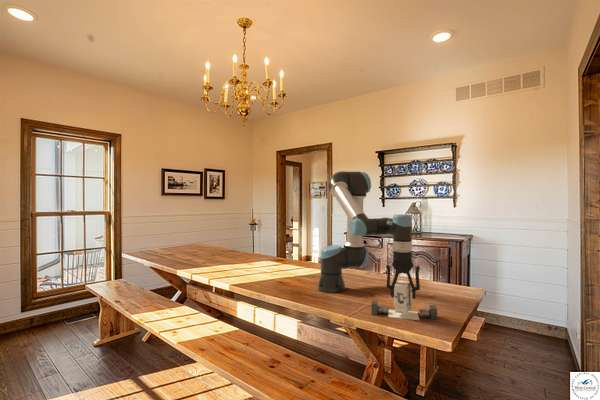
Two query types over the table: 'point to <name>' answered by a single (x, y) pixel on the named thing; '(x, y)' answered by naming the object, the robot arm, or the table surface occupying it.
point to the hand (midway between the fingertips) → (403, 305)
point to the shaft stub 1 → (378, 308)
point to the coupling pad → (404, 315)
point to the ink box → (402, 297)
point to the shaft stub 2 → (429, 312)
